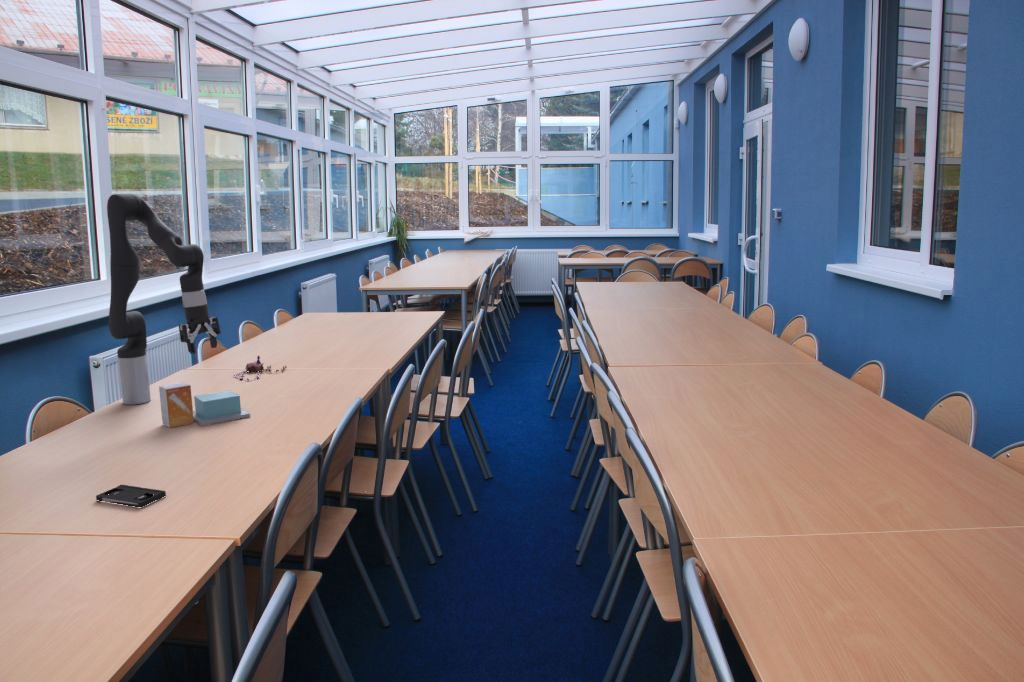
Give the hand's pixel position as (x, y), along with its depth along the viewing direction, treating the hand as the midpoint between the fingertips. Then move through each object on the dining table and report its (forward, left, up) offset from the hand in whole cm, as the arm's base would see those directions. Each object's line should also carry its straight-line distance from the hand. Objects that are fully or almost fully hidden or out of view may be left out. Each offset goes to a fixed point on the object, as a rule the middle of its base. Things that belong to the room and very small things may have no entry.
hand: (203, 350), depth 262 cm
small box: (+9, -12, -22) cm, 27 cm away
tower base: (+9, +1, -22) cm, 23 cm away
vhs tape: (+70, -39, -22) cm, 83 cm away
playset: (-45, +34, -22) cm, 61 cm away
